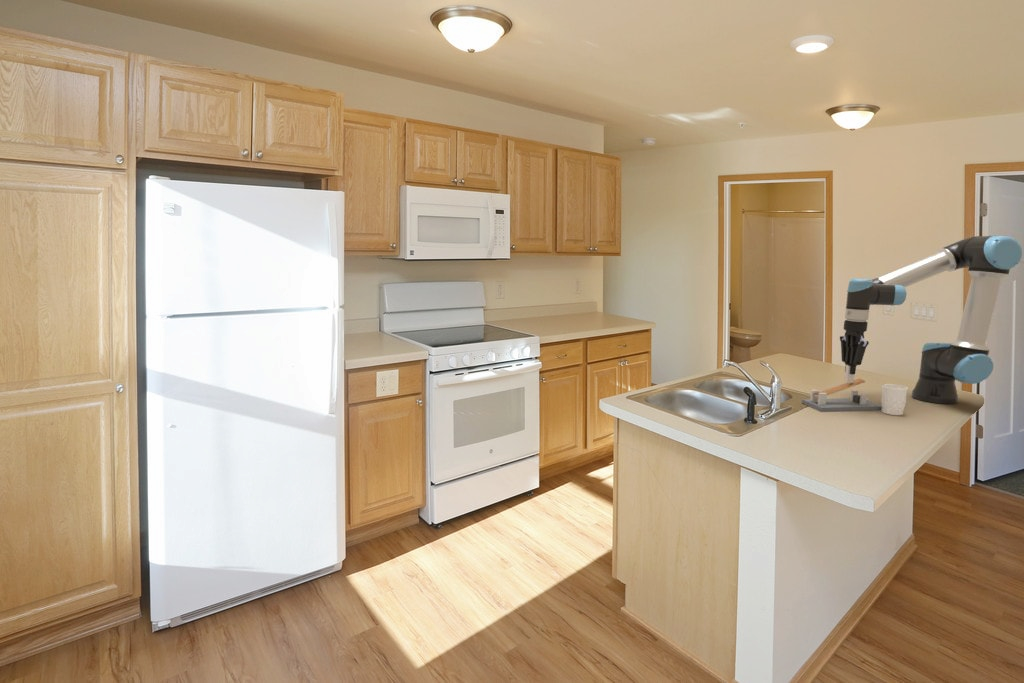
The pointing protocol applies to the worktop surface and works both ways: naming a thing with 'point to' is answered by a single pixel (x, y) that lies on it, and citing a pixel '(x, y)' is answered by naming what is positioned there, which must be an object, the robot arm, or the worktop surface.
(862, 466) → the worktop surface
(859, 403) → the mount
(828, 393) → the strap
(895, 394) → the white cup
